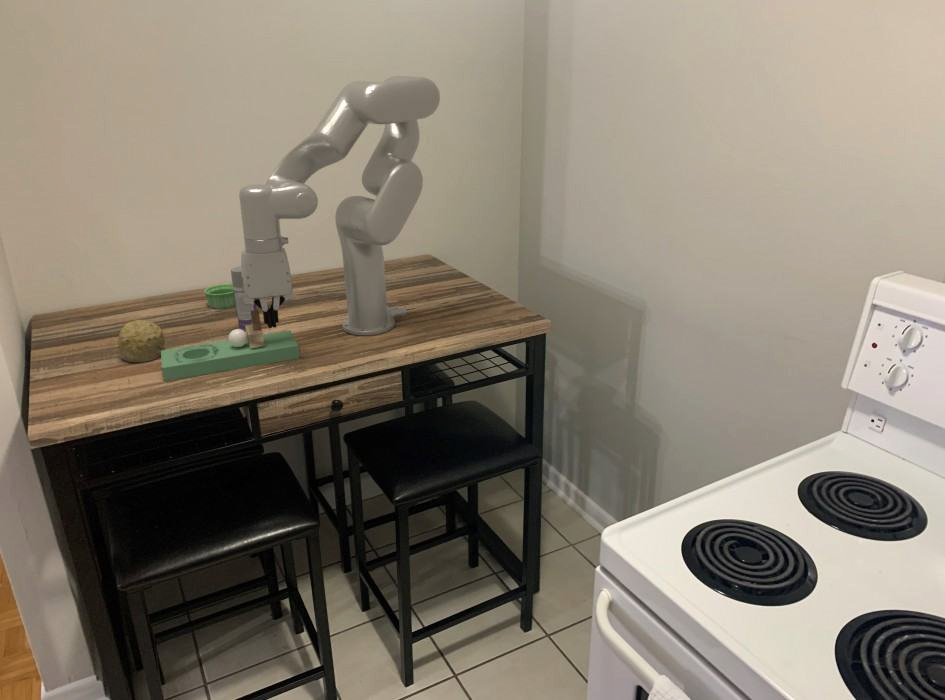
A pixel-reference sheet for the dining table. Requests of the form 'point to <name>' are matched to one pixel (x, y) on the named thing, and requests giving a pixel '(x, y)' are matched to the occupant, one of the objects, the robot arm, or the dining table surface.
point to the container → (241, 300)
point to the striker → (255, 331)
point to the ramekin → (220, 296)
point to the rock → (140, 341)
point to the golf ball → (238, 338)
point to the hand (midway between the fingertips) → (271, 325)
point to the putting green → (226, 356)
